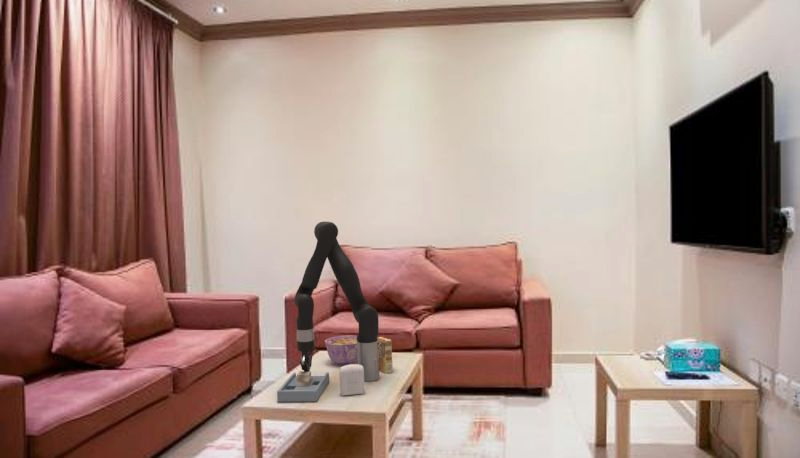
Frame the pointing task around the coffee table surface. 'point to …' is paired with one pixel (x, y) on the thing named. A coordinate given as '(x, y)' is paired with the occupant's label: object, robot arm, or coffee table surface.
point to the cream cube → (304, 379)
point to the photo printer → (351, 379)
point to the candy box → (385, 354)
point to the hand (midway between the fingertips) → (307, 378)
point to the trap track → (302, 389)
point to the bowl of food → (342, 349)
